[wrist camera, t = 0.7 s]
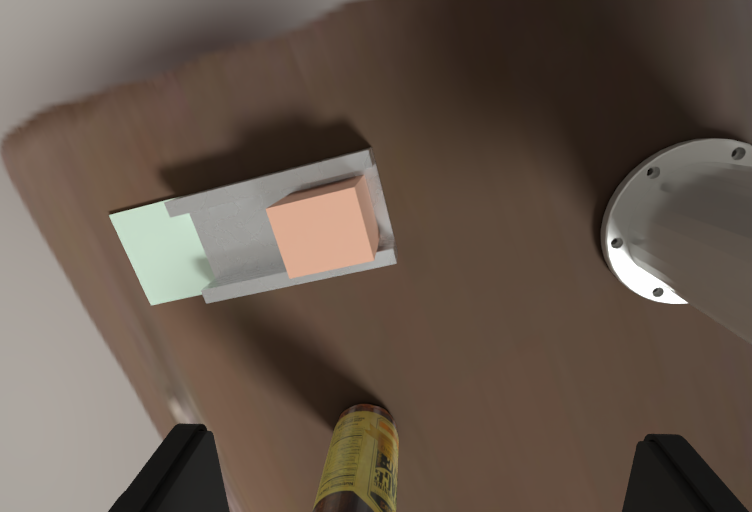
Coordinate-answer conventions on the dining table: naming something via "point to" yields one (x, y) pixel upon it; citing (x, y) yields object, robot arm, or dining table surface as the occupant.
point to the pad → (163, 252)
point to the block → (325, 227)
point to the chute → (255, 234)
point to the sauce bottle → (361, 463)
